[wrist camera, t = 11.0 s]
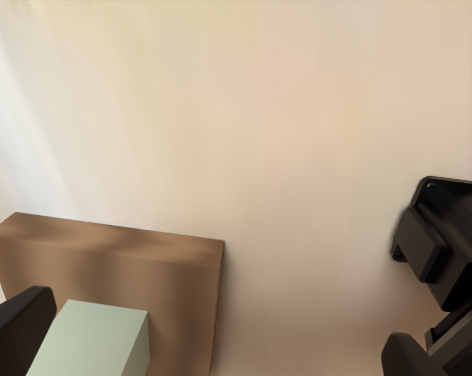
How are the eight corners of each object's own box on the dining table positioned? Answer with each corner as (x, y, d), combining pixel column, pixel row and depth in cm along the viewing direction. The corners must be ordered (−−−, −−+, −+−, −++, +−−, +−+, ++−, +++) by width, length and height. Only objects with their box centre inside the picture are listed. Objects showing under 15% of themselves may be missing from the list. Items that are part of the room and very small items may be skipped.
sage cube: (147, 310, 23) (112, 396, 18) (149, 360, 26) (120, 446, 21) (68, 299, 24) (10, 380, 18) (79, 349, 26) (32, 432, 21)
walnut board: (224, 240, 23) (218, 269, 21) (211, 370, 31) (205, 402, 28) (15, 212, 24) (-17, 236, 21) (52, 346, 32) (33, 375, 29)
